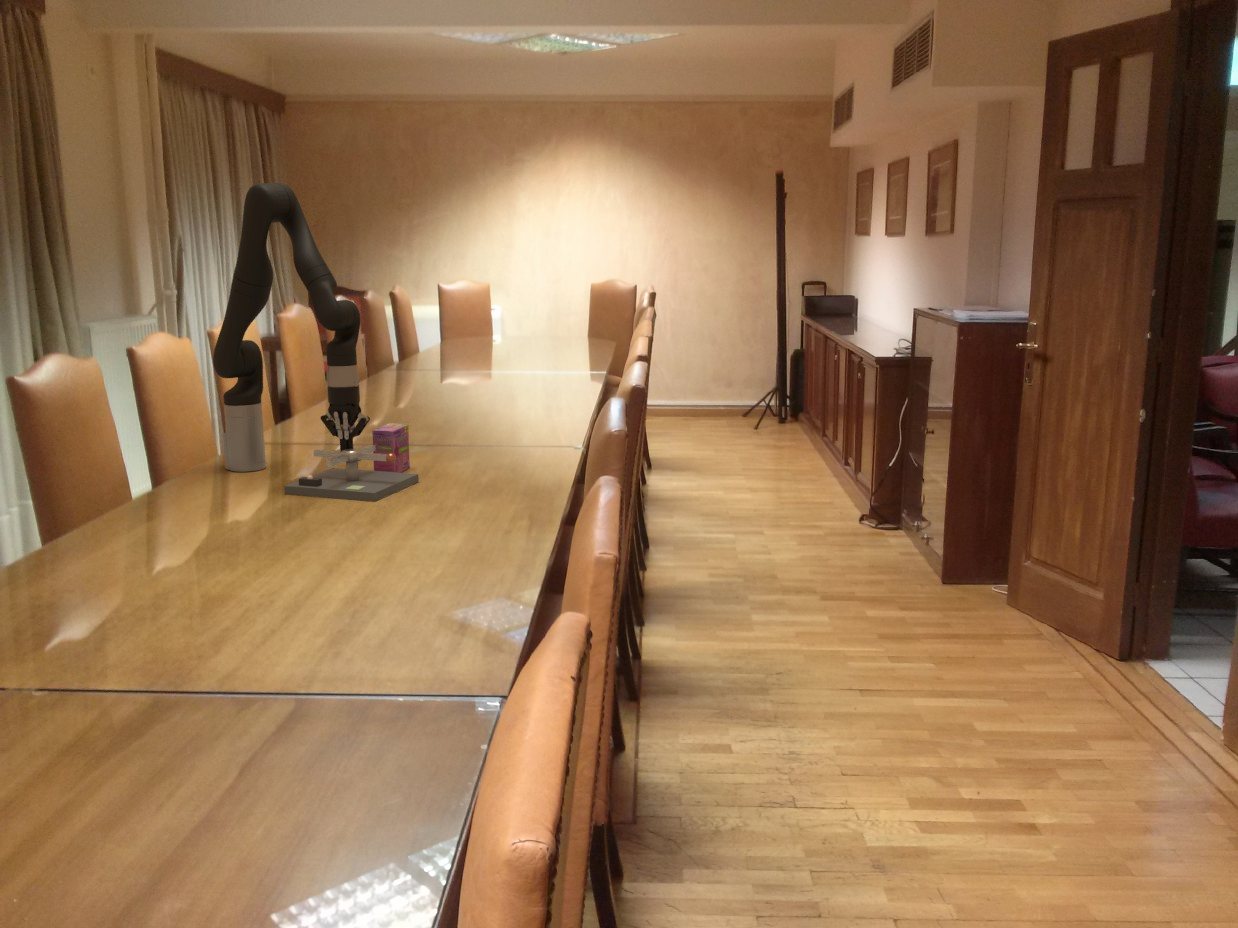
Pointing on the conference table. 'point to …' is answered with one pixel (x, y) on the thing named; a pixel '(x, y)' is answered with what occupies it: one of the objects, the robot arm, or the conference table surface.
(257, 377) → the robot arm
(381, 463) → the box
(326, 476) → the stand
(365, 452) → the capstan
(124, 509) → the conference table surface
